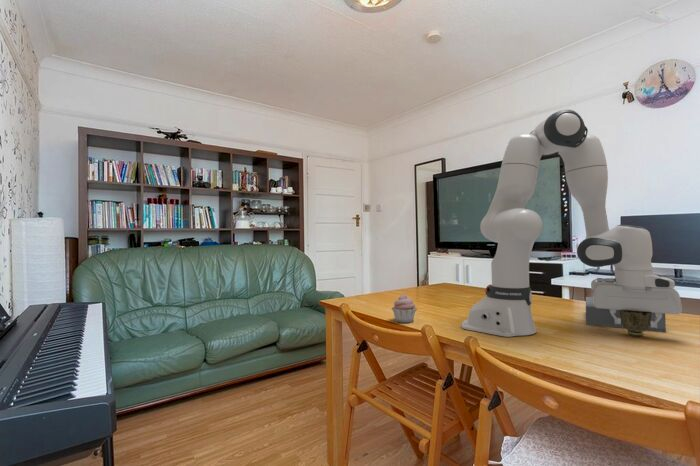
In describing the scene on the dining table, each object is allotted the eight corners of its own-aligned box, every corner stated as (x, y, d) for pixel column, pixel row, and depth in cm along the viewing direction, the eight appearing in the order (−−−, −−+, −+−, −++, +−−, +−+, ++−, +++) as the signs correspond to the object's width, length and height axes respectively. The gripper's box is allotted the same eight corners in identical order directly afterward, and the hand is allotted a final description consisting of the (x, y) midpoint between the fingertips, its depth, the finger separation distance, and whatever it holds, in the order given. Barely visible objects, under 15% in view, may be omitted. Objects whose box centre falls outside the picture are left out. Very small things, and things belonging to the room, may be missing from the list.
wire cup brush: (639, 332, 106) (639, 305, 105) (658, 340, 98) (658, 312, 98) (613, 332, 106) (613, 306, 106) (630, 340, 99) (630, 312, 99)
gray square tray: (586, 324, 117) (585, 306, 117) (586, 312, 133) (585, 296, 133) (665, 332, 105) (665, 312, 105) (655, 318, 122) (654, 301, 122)
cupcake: (409, 325, 120) (408, 297, 120) (386, 322, 126) (386, 294, 126) (422, 320, 127) (421, 293, 127) (400, 317, 134) (400, 291, 134)
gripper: (591, 278, 106) (592, 324, 106) (682, 282, 94) (684, 333, 94) (590, 276, 111) (592, 319, 111) (677, 279, 99) (679, 327, 99)
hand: (635, 326), depth 102 cm, fingers closed on wire cup brush, 7 cm apart
